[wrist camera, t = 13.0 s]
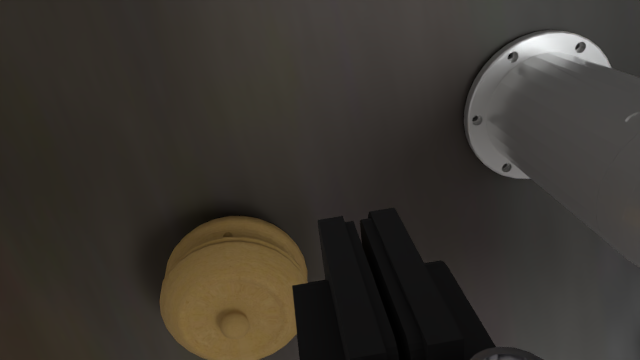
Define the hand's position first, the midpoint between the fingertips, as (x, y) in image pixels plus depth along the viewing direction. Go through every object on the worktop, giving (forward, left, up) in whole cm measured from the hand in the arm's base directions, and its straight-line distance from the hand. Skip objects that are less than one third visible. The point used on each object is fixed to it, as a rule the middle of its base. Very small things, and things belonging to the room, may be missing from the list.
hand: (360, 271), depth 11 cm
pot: (+7, +18, -29) cm, 35 cm away
